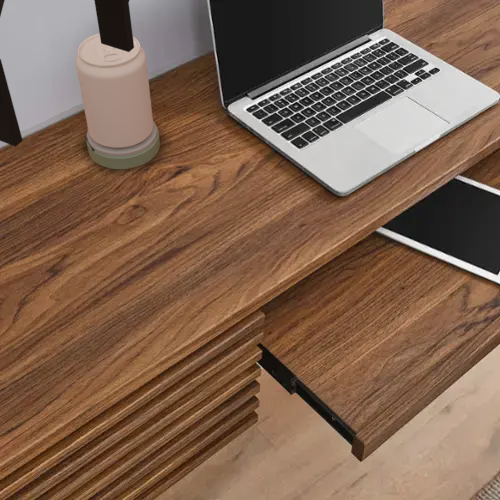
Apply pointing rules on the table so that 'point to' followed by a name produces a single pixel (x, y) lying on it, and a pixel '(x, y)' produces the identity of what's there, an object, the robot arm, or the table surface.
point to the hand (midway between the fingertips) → (65, 89)
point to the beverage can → (114, 93)
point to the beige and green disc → (125, 152)
